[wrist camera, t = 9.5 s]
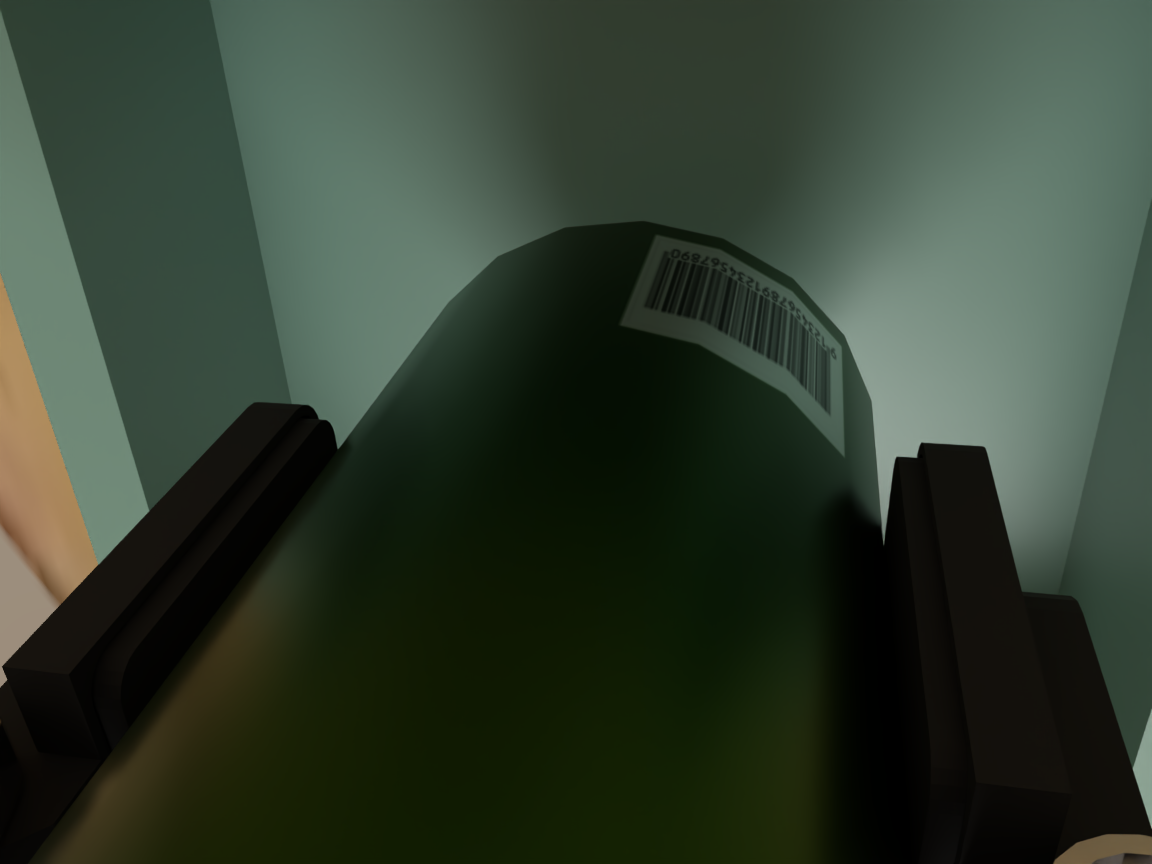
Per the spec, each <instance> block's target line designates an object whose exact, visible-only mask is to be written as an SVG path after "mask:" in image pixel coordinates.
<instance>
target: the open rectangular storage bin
mask: <svg viewBox="0 0 1152 864" xmlns="http://www.w3.org/2000/svg"><path fill="white" fill-rule="evenodd" d="M632 221H648V222H652V223H657V224H661V225H666V226H670V227H675V228H679V229H684V230H689V231H693V232H698V233H702V234H707V235H711V236H716V237H720V238H724V239H725V240H727V241H729V242H731V243H732V244H734V245H736V246H738V247H739V248H741V249H743V250H745V251H746V252H748V253H750V254H752V255H753V256H755V257H757V258H759V259H760V260H762V261H764V262H766V263H767V264H769V265H771V266H773V267H774V268H776V269H778V270H779V271H781V272H783V273H785V274H786V275H788V276H790V277H792V278H793V279H794V280H795V281H796V282H797V283H798V284H799V285H800V286H801V288H802V289H803V290H804V291H805V292H806V293H807V294H808V295H809V296H810V298H811V299H812V300H813V301H814V302H815V303H816V304H817V305H818V306H819V308H820V309H821V310H822V311H823V312H824V313H825V314H826V315H827V316H828V317H829V319H830V320H831V321H832V322H833V323H834V324H835V325H836V326H837V327H838V329H839V330H840V331H841V332H842V333H843V334H844V335H845V337H846V340H847V342H848V345H849V347H850V350H851V352H852V354H853V357H854V359H855V362H856V364H857V367H858V369H859V371H860V374H861V376H862V379H863V381H864V383H865V386H866V388H867V391H868V393H869V396H870V398H871V400H872V410H873V422H874V435H875V447H876V459H877V472H878V484H879V496H880V509H881V521H882V533H883V545H884V539H885V531H886V523H887V515H888V507H889V499H890V491H891V483H892V475H893V468H894V463H895V459H896V457H897V456H899V457H915V458H917V453H918V449H919V446H920V444H921V442H923V443H939V444H955V445H972V446H983V447H985V448H986V451H987V454H988V458H989V462H990V466H991V470H992V474H993V478H994V482H995V486H996V490H997V494H998V498H999V502H1000V506H1001V510H1002V514H1003V518H1004V522H1005V526H1006V530H1007V534H1008V538H1009V542H1010V546H1011V550H1012V554H1013V558H1014V562H1015V566H1016V570H1017V574H1018V578H1019V582H1020V586H1021V590H1022V592H1032V593H1044V594H1055V595H1067V596H1072V597H1073V598H1075V599H1076V600H1077V601H1078V603H1079V605H1080V607H1081V609H1082V612H1083V614H1084V617H1085V621H1086V624H1087V627H1088V630H1089V633H1090V636H1091V639H1092V642H1093V646H1094V649H1095V652H1096V655H1097V658H1098V661H1099V664H1100V668H1101V671H1102V674H1103V677H1104V680H1105V683H1106V686H1107V690H1108V693H1109V696H1110V699H1111V702H1112V705H1113V708H1114V712H1115V715H1116V718H1117V721H1118V724H1119V727H1120V730H1121V734H1122V737H1123V740H1124V743H1125V746H1126V749H1127V752H1128V756H1129V759H1130V762H1131V765H1132V768H1133V771H1134V774H1135V778H1136V781H1137V784H1138V787H1139V790H1140V793H1141V796H1142V800H1143V803H1144V806H1145V809H1146V812H1147V815H1148V818H1149V822H1150V825H1151V828H1152V0H0V273H1V276H2V279H3V282H4V285H5V288H6V291H7V294H8V297H9V300H10V303H11V306H12V309H13V312H14V315H15V318H16V321H17V324H18V327H19V330H20V333H21V336H22V339H23V342H24V345H25V348H26V351H27V353H28V356H29V359H30V362H31V365H32V368H33V371H34V374H35V377H36V380H37V383H38V386H39V389H40V392H41V395H42V398H43V401H44V404H45V407H46V410H47V413H48V416H49V419H50V422H51V425H52V428H53V431H54V434H55V437H56V440H57V443H58V446H59V449H60V452H61V455H62V458H63V461H64V463H65V466H66V469H67V472H68V475H69V478H70V481H71V484H72V487H73V490H74V493H75V496H76V499H77V502H78V505H79V508H80V511H81V514H82V517H83V520H84V523H85V526H86V529H87V532H88V535H89V538H90V541H91V544H92V547H93V550H94V553H95V556H96V559H97V562H98V565H99V564H100V563H101V561H102V560H103V559H104V558H105V557H106V556H107V555H108V554H109V553H110V552H111V551H112V550H113V549H114V548H115V547H116V546H117V545H118V544H119V542H120V541H121V540H122V539H123V538H124V537H125V536H126V535H127V534H128V533H129V532H130V531H131V530H132V529H133V528H134V527H135V526H136V525H137V523H138V522H139V521H140V520H141V519H142V518H143V517H144V516H145V515H146V514H147V513H148V512H149V511H150V510H151V509H152V508H153V507H154V506H155V504H156V503H157V502H158V501H159V500H160V499H161V498H162V497H163V496H164V495H165V494H166V493H167V492H168V491H169V490H170V489H171V488H172V487H173V485H174V484H175V483H176V482H177V481H178V480H179V479H180V478H181V477H182V476H183V475H184V474H185V473H186V472H187V471H188V470H189V469H190V468H191V466H192V465H193V464H194V463H195V462H196V461H197V460H198V459H199V458H200V457H201V456H202V455H203V454H204V453H205V452H206V451H207V450H208V448H209V447H210V446H211V445H212V444H213V443H214V442H215V441H216V440H217V439H218V438H219V437H220V436H221V435H222V434H223V433H224V432H225V431H226V429H227V428H228V427H229V426H230V425H231V424H232V423H233V422H234V421H235V420H236V419H237V418H238V417H239V416H240V415H241V414H242V413H243V412H244V410H245V409H246V408H247V407H248V406H250V405H251V404H253V403H254V402H270V403H286V404H303V405H309V406H311V407H312V408H314V410H315V412H316V413H317V415H318V418H319V419H320V420H327V421H329V422H330V423H331V425H332V427H333V429H334V433H335V437H336V443H337V448H338V449H339V448H340V446H341V445H342V444H343V442H344V441H345V440H346V438H347V437H348V436H349V434H350V433H351V432H352V430H353V429H354V428H355V426H356V425H357V424H358V422H359V421H360V420H361V418H362V417H363V416H364V414H365V413H366V412H367V410H368V409H369V408H370V406H371V405H372V404H373V402H374V401H375V400H376V398H377V397H378V396H379V394H380V393H381V392H382V390H383V389H384V388H385V386H386V385H387V384H388V382H389V381H390V380H391V378H392V377H393V376H394V374H395V373H396V372H397V370H398V369H399V368H400V366H401V365H402V364H403V362H404V361H405V360H406V358H407V357H408V356H409V354H410V353H411V352H412V350H413V349H414V348H415V346H416V345H417V344H418V342H419V341H420V340H421V338H422V337H423V336H424V334H425V333H426V332H427V330H428V329H429V328H430V326H431V325H432V324H433V322H434V321H435V320H436V318H437V317H438V316H439V314H440V313H441V312H442V310H443V309H444V308H445V306H446V305H447V304H448V302H449V301H450V300H451V299H453V298H454V297H455V296H456V295H457V294H458V293H459V292H460V291H461V290H462V289H463V288H464V287H465V286H466V285H467V284H469V283H470V282H471V281H472V280H473V279H474V278H475V277H476V276H477V275H478V274H479V273H480V272H481V271H482V270H483V269H485V268H486V267H487V266H488V265H489V264H490V263H491V262H492V261H493V260H494V259H495V258H496V257H497V256H499V255H502V254H504V253H506V252H509V251H511V250H513V249H516V248H518V247H520V246H523V245H525V244H527V243H530V242H532V241H534V240H537V239H539V238H541V237H544V236H546V235H548V234H550V233H553V232H555V231H557V230H560V229H562V228H564V227H574V226H585V225H597V224H609V223H620V222H632Z"/></svg>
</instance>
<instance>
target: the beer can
mask: <svg viewBox="0 0 1152 864" xmlns="http://www.w3.org/2000/svg"><path fill="white" fill-rule="evenodd" d="M28 864H909V853H908V840H907V828H906V816H905V804H904V791H903V779H902V767H901V754H900V742H899V730H898V718H897V705H896V693H895V681H894V668H893V656H892V644H891V631H890V619H889V607H888V595H887V582H886V570H885V558H884V545H883V533H882V521H881V509H880V496H879V484H878V472H877V459H876V447H875V435H874V422H873V410H872V400H871V398H870V396H869V393H868V391H867V388H866V386H865V383H864V381H863V379H862V376H861V374H860V371H859V369H858V367H857V364H856V362H855V359H854V357H853V354H852V352H851V350H850V347H849V345H848V342H847V340H846V337H845V335H844V334H843V333H842V332H841V331H840V330H839V329H838V327H837V326H836V325H835V324H834V323H833V322H832V321H831V320H830V319H829V317H828V316H827V315H826V314H825V313H824V312H823V311H822V310H821V309H820V308H819V306H818V305H817V304H816V303H815V302H814V301H813V300H812V299H811V298H810V296H809V295H808V294H807V293H806V292H805V291H804V290H803V289H802V288H801V286H800V285H799V284H798V283H797V282H796V281H795V280H794V279H793V278H792V277H790V276H788V275H786V274H785V273H783V272H781V271H779V270H778V269H776V268H774V267H773V266H771V265H769V264H767V263H766V262H764V261H762V260H760V259H759V258H757V257H755V256H753V255H752V254H750V253H748V252H746V251H745V250H743V249H741V248H739V247H738V246H736V245H734V244H732V243H731V242H729V241H727V240H725V239H724V238H720V237H716V236H711V235H707V234H702V233H698V232H693V231H689V230H684V229H679V228H675V227H670V226H666V225H661V224H657V223H652V222H648V221H632V222H620V223H609V224H597V225H585V226H574V227H564V228H562V229H560V230H557V231H555V232H553V233H550V234H548V235H546V236H544V237H541V238H539V239H537V240H534V241H532V242H530V243H527V244H525V245H523V246H520V247H518V248H516V249H513V250H511V251H509V252H506V253H504V254H502V255H499V256H497V257H496V258H495V259H494V260H493V261H492V262H491V263H490V264H489V265H488V266H487V267H486V268H485V269H483V270H482V271H481V272H480V273H479V274H478V275H477V276H476V277H475V278H474V279H473V280H472V281H471V282H470V283H469V284H467V285H466V286H465V287H464V288H463V289H462V290H461V291H460V292H459V293H458V294H457V295H456V296H455V297H454V298H453V299H451V300H450V301H449V302H448V304H447V305H446V306H445V308H444V309H443V310H442V312H441V313H440V314H439V316H438V317H437V318H436V320H435V321H434V322H433V324H432V325H431V326H430V328H429V329H428V330H427V332H426V333H425V334H424V336H423V337H422V338H421V340H420V341H419V342H418V344H417V345H416V346H415V348H414V349H413V350H412V352H411V353H410V354H409V356H408V357H407V358H406V360H405V361H404V362H403V364H402V365H401V366H400V368H399V369H398V370H397V372H396V373H395V374H394V376H393V377H392V378H391V380H390V381H389V382H388V384H387V385H386V386H385V388H384V389H383V390H382V392H381V393H380V394H379V396H378V397H377V398H376V400H375V401H374V402H373V404H372V405H371V406H370V408H369V409H368V410H367V412H366V413H365V414H364V416H363V417H362V418H361V420H360V421H359V422H358V424H357V425H356V426H355V428H354V429H353V430H352V432H351V433H350V434H349V436H348V437H347V438H346V440H345V441H344V442H343V444H342V445H341V446H340V448H339V449H338V450H337V452H336V453H335V454H334V456H333V457H332V458H331V460H330V461H329V462H328V464H327V465H326V466H325V468H324V469H323V470H322V472H321V473H320V474H319V476H318V477H317V478H316V480H315V481H314V482H313V484H312V485H311V486H310V488H309V489H308V490H307V492H306V493H305V494H304V496H303V497H302V498H301V500H300V501H299V502H298V504H297V505H296V506H295V508H294V509H293V510H292V512H291V513H290V514H289V516H288V517H287V518H286V520H285V521H284V522H283V524H282V525H281V526H280V528H279V529H278V530H277V532H276V533H275V534H274V536H273V537H272V538H271V540H270V541H269V542H268V544H267V545H266V546H265V548H264V549H263V550H262V552H261V553H260V554H259V556H258V557H257V558H256V560H255V561H254V562H253V564H252V565H251V566H250V568H249V569H248V570H247V572H246V573H245V574H244V576H243V577H242V578H241V580H240V581H239V582H238V584H237V585H236V586H235V588H234V589H233V590H232V592H231V593H230V594H229V596H228V597H227V598H226V600H225V601H224V602H223V604H222V605H221V606H220V608H219V609H218V610H217V612H216V613H215V614H214V616H213V617H212V618H211V620H210V621H209V622H208V624H207V625H206V626H205V628H204V629H203V630H202V632H201V633H200V634H199V636H198V637H197V638H196V640H195V641H194V642H193V644H192V645H191V646H190V648H189V649H188V650H187V652H186V653H185V654H184V656H183V657H182V659H181V660H180V661H179V663H178V664H177V665H176V667H175V668H174V669H173V671H172V672H171V673H170V675H169V676H168V677H167V679H166V680H165V681H164V683H163V684H162V685H161V687H160V688H159V689H158V691H157V692H156V693H155V695H154V696H153V697H152V699H151V700H150V701H149V703H148V704H147V705H146V707H145V708H144V709H143V711H142V712H141V713H140V715H139V716H138V717H137V719H136V720H135V721H134V723H133V724H132V725H131V727H130V728H129V729H128V731H127V732H126V733H125V735H124V736H123V737H122V739H121V740H120V741H119V743H118V744H117V745H116V747H115V748H114V749H113V751H112V752H111V753H110V755H109V756H108V757H107V759H106V760H105V761H104V763H103V764H102V765H101V767H100V768H99V769H98V771H97V772H96V773H95V775H94V776H93V777H92V779H91V780H90V781H89V783H88V784H87V785H86V787H85V788H84V789H83V791H82V792H81V793H80V795H79V796H78V797H77V799H76V800H75V801H74V803H73V804H72V805H71V807H70V808H69V809H68V811H67V812H66V813H65V815H64V816H63V817H62V819H61V820H60V821H59V823H58V824H57V825H56V827H55V828H54V829H53V831H52V832H51V833H50V835H49V836H48V837H47V839H46V840H45V841H44V843H43V844H42V845H41V847H40V848H39V849H38V851H37V852H36V853H35V855H34V856H33V857H32V859H31V860H30V861H29V863H28Z"/></svg>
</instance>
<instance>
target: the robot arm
mask: <svg viewBox="0 0 1152 864" xmlns="http://www.w3.org/2000/svg"><path fill="white" fill-rule="evenodd" d="M337 450H338V448H337V443H336V437H335V433H334V429H333V427H332V425H331V423H330V422H329V421H327V420H320V419H319V418H318V415H317V413H316V412H315V410H314V408H312V407H311V406H309V405H303V404H286V403H270V402H254V403H253V404H251V405H250V406H248V407H247V408H246V409H245V410H244V412H243V413H242V414H241V415H240V416H239V417H238V418H237V419H236V420H235V421H234V422H233V423H232V424H231V425H230V426H229V427H228V428H227V429H226V431H225V432H224V433H223V434H222V435H221V436H220V437H219V438H218V439H217V440H216V441H215V442H214V443H213V444H212V445H211V446H210V447H209V448H208V450H207V451H206V452H205V453H204V454H203V455H202V456H201V457H200V458H199V459H198V460H197V461H196V462H195V463H194V464H193V465H192V466H191V468H190V469H189V470H188V471H187V472H186V473H185V474H184V475H183V476H182V477H181V478H180V479H179V480H178V481H177V482H176V483H175V484H174V485H173V487H172V488H171V489H170V490H169V491H168V492H167V493H166V494H165V495H164V496H163V497H162V498H161V499H160V500H159V501H158V502H157V503H156V504H155V506H154V507H153V508H152V509H151V510H150V511H149V512H148V513H147V514H146V515H145V516H144V517H143V518H142V519H141V520H140V521H139V522H138V523H137V525H136V526H135V527H134V528H133V529H132V530H131V531H130V532H129V533H128V534H127V535H126V536H125V537H124V538H123V539H122V540H121V541H120V542H119V544H118V545H117V546H116V547H115V548H114V549H113V550H112V551H111V552H110V553H109V554H108V555H107V556H106V557H105V558H104V559H103V560H102V561H101V563H100V564H99V565H98V566H97V567H96V568H95V569H94V570H93V571H92V572H91V573H90V574H89V575H88V576H87V577H86V578H85V579H84V580H83V582H82V583H81V584H80V585H79V586H78V587H77V588H76V589H75V590H74V591H73V592H72V593H71V594H70V595H69V596H68V597H67V598H66V599H65V601H64V602H63V603H62V604H61V605H60V606H59V607H58V608H57V609H56V610H55V611H54V612H53V613H52V614H51V615H50V616H49V618H48V619H47V620H46V621H45V622H44V623H43V624H42V625H41V626H40V627H39V628H38V629H37V630H36V631H35V632H34V634H32V635H31V637H30V638H29V639H28V640H27V641H26V642H25V643H24V644H23V645H22V646H21V647H20V648H19V649H18V650H17V651H16V652H15V653H14V654H13V655H12V657H11V658H10V659H9V660H8V661H7V662H6V663H5V664H4V665H3V666H2V668H3V670H4V673H5V675H6V677H7V681H6V682H5V683H4V684H3V685H2V686H1V688H0V864H28V863H29V861H30V860H31V859H32V857H33V856H34V855H35V853H36V852H37V851H38V849H39V848H40V847H41V845H42V844H43V843H44V841H45V840H46V839H47V837H48V836H49V835H50V833H51V832H52V831H53V829H54V828H55V827H56V825H57V824H58V823H59V821H60V820H61V819H62V817H63V816H64V815H65V813H66V812H67V811H68V809H69V808H70V807H71V805H72V804H73V803H74V801H75V800H76V799H77V797H78V796H79V795H80V793H81V792H82V791H83V789H84V788H85V787H86V785H87V784H88V783H89V781H90V780H91V779H92V777H93V776H94V775H95V773H96V772H97V771H98V769H99V768H100V767H101V765H102V764H103V763H104V761H105V760H106V759H107V757H108V756H109V755H110V753H111V752H112V751H113V749H114V748H115V747H116V745H117V744H118V743H119V741H120V740H121V739H122V737H123V736H124V735H125V733H126V732H127V731H128V729H129V728H130V727H131V725H132V724H133V723H134V721H135V720H136V719H137V717H138V716H139V715H140V713H141V712H142V711H143V709H144V708H145V707H146V705H147V704H148V703H149V701H150V700H151V699H152V697H153V696H154V695H155V693H156V692H157V691H158V689H159V688H160V687H161V685H162V684H163V683H164V681H165V680H166V679H167V677H168V676H169V675H170V673H171V672H172V671H173V669H174V668H175V667H176V665H177V664H178V663H179V661H180V660H181V659H182V657H183V656H184V654H185V653H186V652H187V650H188V649H189V648H190V646H191V645H192V644H193V642H194V641H195V640H196V638H197V637H198V636H199V634H200V633H201V632H202V630H203V629H204V628H205V626H206V625H207V624H208V622H209V621H210V620H211V618H212V617H213V616H214V614H215V613H216V612H217V610H218V609H219V608H220V606H221V605H222V604H223V602H224V601H225V600H226V598H227V597H228V596H229V594H230V593H231V592H232V590H233V589H234V588H235V586H236V585H237V584H238V582H239V581H240V580H241V578H242V577H243V576H244V574H245V573H246V572H247V570H248V569H249V568H250V566H251V565H252V564H253V562H254V561H255V560H256V558H257V557H258V556H259V554H260V553H261V552H262V550H263V549H264V548H265V546H266V545H267V544H268V542H269V541H270V540H271V538H272V537H273V536H274V534H275V533H276V532H277V530H278V529H279V528H280V526H281V525H282V524H283V522H284V521H285V520H286V518H287V517H288V516H289V514H290V513H291V512H292V510H293V509H294V508H295V506H296V505H297V504H298V502H299V501H300V500H301V498H302V497H303V496H304V494H305V493H306V492H307V490H308V489H309V488H310V486H311V485H312V484H313V482H314V481H315V480H316V478H317V477H318V476H319V474H320V473H321V472H322V470H323V469H324V468H325V466H326V465H327V464H328V462H329V461H330V460H331V458H332V457H333V456H334V454H335V453H336V452H337ZM884 558H885V570H886V582H887V595H888V607H889V619H890V631H891V644H892V656H893V668H894V681H895V693H896V705H897V718H898V730H899V742H900V754H901V767H902V779H903V791H904V804H905V816H906V828H907V840H908V853H909V864H1152V828H1151V825H1150V822H1149V818H1148V815H1147V812H1146V809H1145V806H1144V803H1143V800H1142V796H1141V793H1140V790H1139V787H1138V784H1137V781H1136V778H1135V774H1134V771H1133V768H1132V765H1131V762H1130V759H1129V756H1128V752H1127V749H1126V746H1125V743H1124V740H1123V737H1122V734H1121V730H1120V727H1119V724H1118V721H1117V718H1116V715H1115V712H1114V708H1113V705H1112V702H1111V699H1110V696H1109V693H1108V690H1107V686H1106V683H1105V680H1104V677H1103V674H1102V671H1101V668H1100V664H1099V661H1098V658H1097V655H1096V652H1095V649H1094V646H1093V642H1092V639H1091V636H1090V633H1089V630H1088V627H1087V624H1086V621H1085V617H1084V614H1083V612H1082V609H1081V607H1080V605H1079V603H1078V601H1077V600H1076V599H1075V598H1073V597H1072V596H1067V595H1055V594H1044V593H1032V592H1022V590H1021V586H1020V582H1019V578H1018V574H1017V570H1016V566H1015V562H1014V558H1013V554H1012V550H1011V546H1010V542H1009V538H1008V534H1007V530H1006V526H1005V522H1004V518H1003V514H1002V510H1001V506H1000V502H999V498H998V494H997V490H996V486H995V482H994V478H993V474H992V470H991V466H990V462H989V458H988V454H987V451H986V448H985V447H983V446H972V445H955V444H939V443H923V442H921V444H920V446H919V449H918V453H917V458H915V457H899V456H897V457H896V459H895V463H894V468H893V475H892V483H891V491H890V499H889V507H888V515H887V523H886V531H885V539H884Z"/></svg>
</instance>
